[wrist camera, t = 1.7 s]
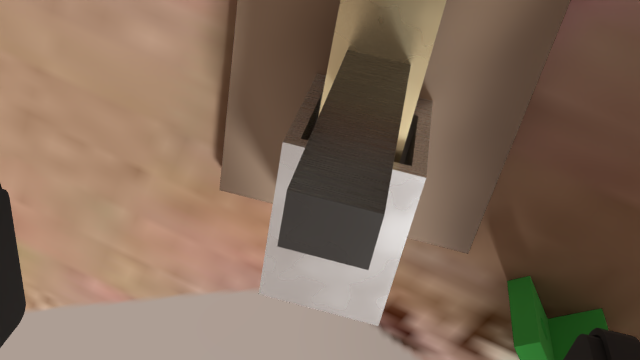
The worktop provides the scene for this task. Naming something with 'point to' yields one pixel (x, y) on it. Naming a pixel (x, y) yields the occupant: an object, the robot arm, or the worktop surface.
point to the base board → (438, 86)
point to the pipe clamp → (545, 324)
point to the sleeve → (374, 284)
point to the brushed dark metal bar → (359, 128)
